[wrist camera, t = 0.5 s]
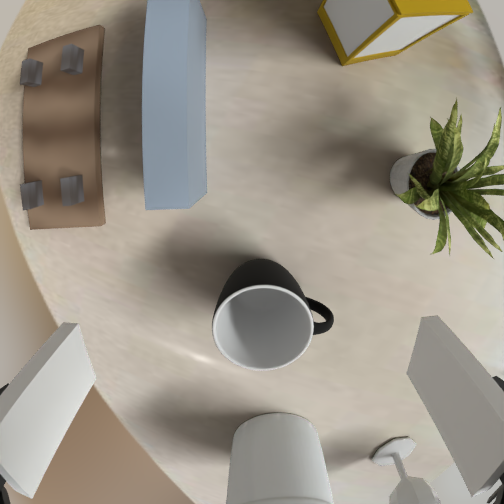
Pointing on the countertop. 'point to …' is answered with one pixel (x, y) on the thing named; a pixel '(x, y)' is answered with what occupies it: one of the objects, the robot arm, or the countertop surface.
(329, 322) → the mug
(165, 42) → the door panel
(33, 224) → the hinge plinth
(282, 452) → the utensil holder
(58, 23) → the countertop surface
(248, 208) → the countertop surface
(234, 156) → the countertop surface
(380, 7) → the soap bottle
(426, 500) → the wineglass
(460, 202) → the house plant
